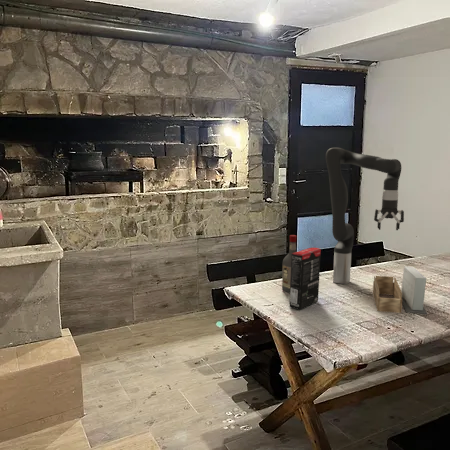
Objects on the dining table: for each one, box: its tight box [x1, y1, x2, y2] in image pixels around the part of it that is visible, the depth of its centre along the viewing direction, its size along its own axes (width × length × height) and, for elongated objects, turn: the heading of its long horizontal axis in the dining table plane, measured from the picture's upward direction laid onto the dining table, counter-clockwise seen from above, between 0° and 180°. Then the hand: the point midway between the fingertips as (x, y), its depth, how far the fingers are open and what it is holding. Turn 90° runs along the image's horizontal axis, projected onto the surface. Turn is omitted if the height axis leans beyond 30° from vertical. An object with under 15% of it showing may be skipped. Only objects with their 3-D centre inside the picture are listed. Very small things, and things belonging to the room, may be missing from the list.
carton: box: [372, 275, 403, 314], centre depth 222 cm, size 11×27×10 cm, turn 167°
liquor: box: [281, 234, 297, 294], centre depth 239 cm, size 9×9×30 cm
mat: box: [402, 298, 428, 315], centre depth 220 cm, size 9×25×1 cm, turn 167°
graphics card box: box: [288, 247, 322, 311], centre depth 218 cm, size 17×7×27 cm, turn 139°
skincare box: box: [400, 265, 427, 310], centre depth 219 cm, size 21×5×16 cm, turn 173°
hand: (388, 229), depth 234 cm, fingers open, 8 cm apart
